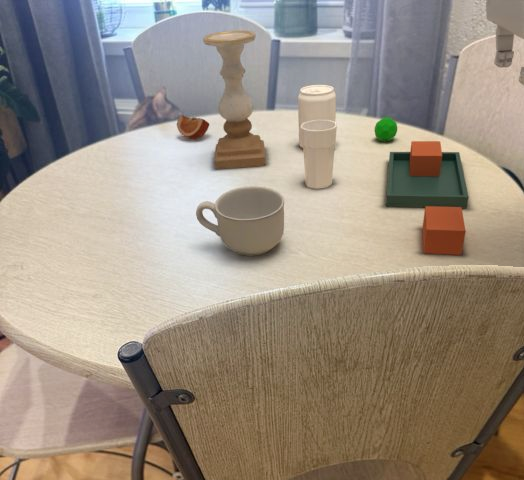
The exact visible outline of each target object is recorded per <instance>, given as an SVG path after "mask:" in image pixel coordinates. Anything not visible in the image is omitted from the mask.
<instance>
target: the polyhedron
mask: <svg viewBox="0 0 524 480" xmlns="http://www.w3.org/2000/svg"><path fill="white" fill-rule="evenodd" d="M397 133H398V123H397V122H396V121H395V120H394V119H392V118H391V117H389V116H388V117H386V116H384V117H383V118H381V119H380V120H379V121H377V122H376V123H375V126H374V135H375V137H376V138H377V139H378V140H380V141H381V142H389V141H391V140H392V139H393V138H394V137H396V135H397Z"/></svg>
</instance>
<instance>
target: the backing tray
mask: <svg viewBox="0 0 524 480" xmlns="http://www.w3.org/2000/svg"><path fill="white" fill-rule="evenodd" d="M388 157H389V159H388V172H387V185H386V201H385V207H389V208H390V207H395V208H396V207H397V208H425V206H432V207H462V209H468V208H467V207H468V203H469V198H470V197H469V193H468V187H467V183H466V178H465V173H464V169H463V164H462V158H461V154H460V152H459V151H442V161H441V168H440V175H439V177H432V176H410V168H409V160H410V151H390V152H389V156H388Z"/></svg>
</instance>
